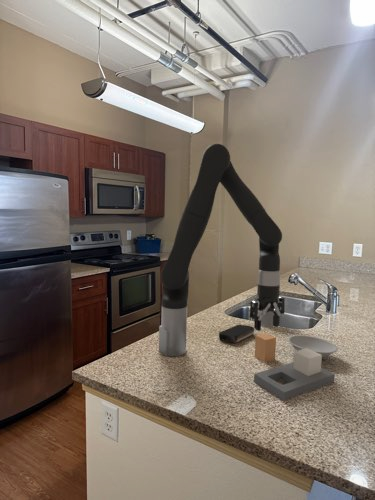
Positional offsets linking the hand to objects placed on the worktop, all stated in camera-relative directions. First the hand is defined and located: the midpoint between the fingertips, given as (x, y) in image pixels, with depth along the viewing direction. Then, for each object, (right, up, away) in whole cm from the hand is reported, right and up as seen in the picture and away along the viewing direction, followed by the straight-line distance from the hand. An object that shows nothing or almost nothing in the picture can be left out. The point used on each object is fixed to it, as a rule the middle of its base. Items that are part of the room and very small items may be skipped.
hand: (266, 328), depth 120 cm
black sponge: (-8, -9, +21) cm, 24 cm away
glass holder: (+6, -7, +37) cm, 39 cm away
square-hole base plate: (+5, -13, -15) cm, 21 cm away
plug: (0, -11, +1) cm, 11 cm away
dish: (+17, -11, +4) cm, 21 cm away
